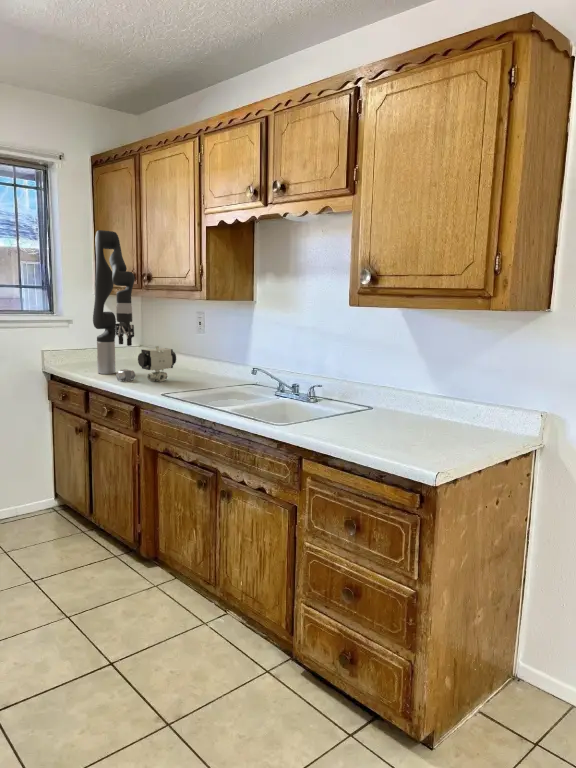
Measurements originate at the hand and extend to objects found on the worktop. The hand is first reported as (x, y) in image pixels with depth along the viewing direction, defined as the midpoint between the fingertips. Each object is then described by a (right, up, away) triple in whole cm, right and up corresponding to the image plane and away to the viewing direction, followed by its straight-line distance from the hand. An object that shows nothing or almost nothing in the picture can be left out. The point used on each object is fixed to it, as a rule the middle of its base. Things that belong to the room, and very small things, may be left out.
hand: (125, 345), depth 286 cm
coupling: (0, -18, +3) cm, 18 cm away
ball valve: (+16, -18, +3) cm, 24 cm away
